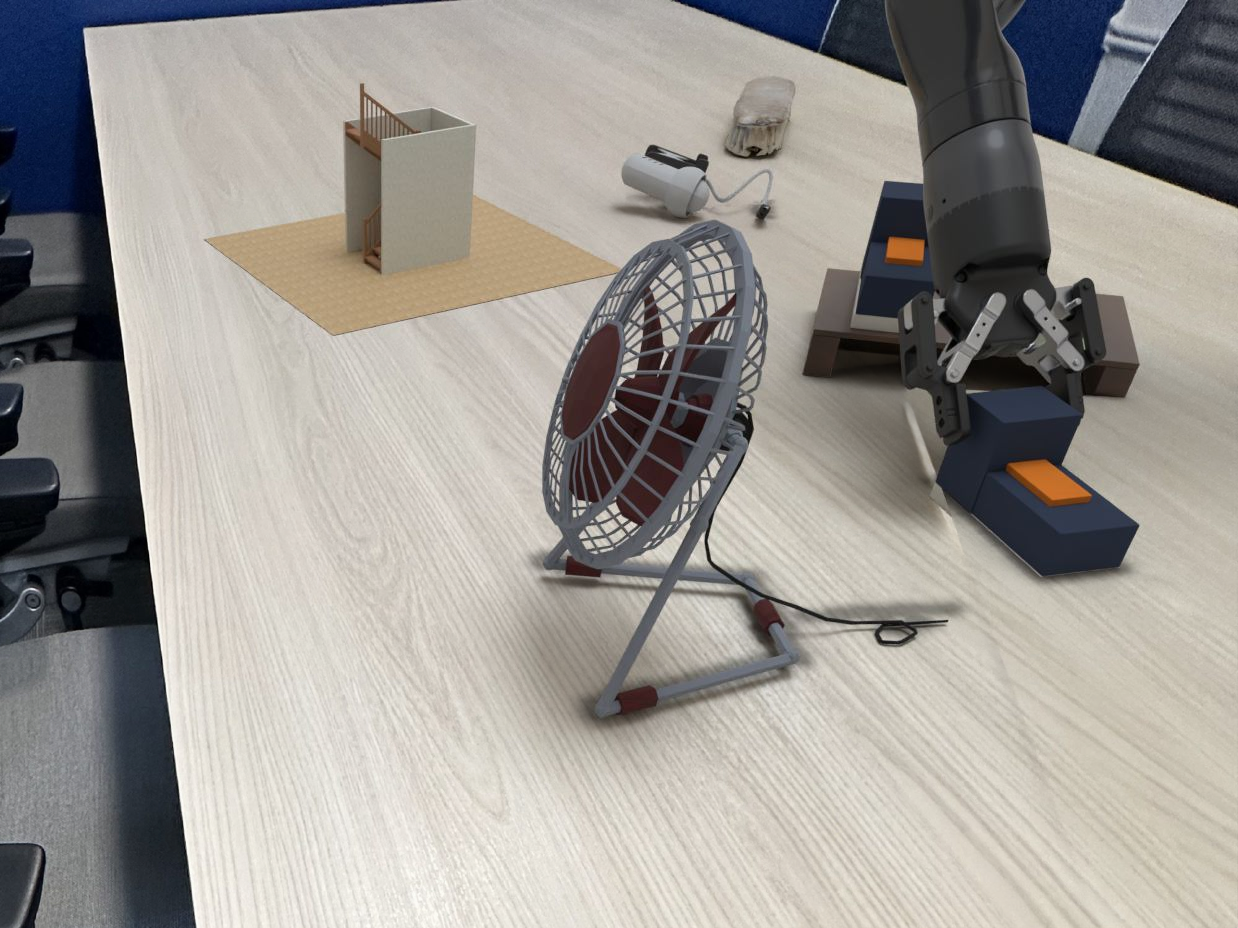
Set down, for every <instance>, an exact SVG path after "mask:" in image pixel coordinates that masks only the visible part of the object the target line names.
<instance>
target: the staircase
mask: <svg viewBox="0 0 1238 928" xmlns="http://www.w3.org/2000/svg"><path fill="white" fill-rule="evenodd" d="M369 102H370V116H369ZM374 106H375V115H374ZM365 108H366V109H365ZM378 108H379V114H378ZM365 110H366V113H365ZM383 112H384V113H383ZM342 126H343V127H342V128H343V129H342V131H343V133H342V135H343V136H342V137H343V138H342V139H343V180H344V181H343V182H344V183H343V185H344V186H343V187H344V189H343V190H344V191H343V192H344V212H343V213H344V248H345V251H346V252H347V253H348V252H353V251H358V250H362V262H363V263H364V264H367V263H369V264H371V265H372V266H374V267H376V268H377V269H379V273H380V274H382V275H388V274H393V273H398V272H403V271H406V270H412V269H417V268H422V267H427V266H432V265H437V264H442V263H446V262H450V261H455V260H460V259H465V258H470V257H471V243H472V223H473V203H474V195H475V194H474V184H475V183H474V182H475V181H474V178H475V159H476V142H477V141H476V139H477V124H475V123H473V122H471V121H468V120H466V119H464V118H462V117H459V116H458V115H457V116H456V115H455V114H452V113H450V112H448V111H445V110H443V109H440V108H438V107H436V106H427V107H422V108H421V107H420V108H414V109H409V110H402V111H395V112H392V111H391V110H389V109H388V108H387V107H386V106H384V105H382V104H381V103H380V102H378V101H377V99H375V98H373V97H372V96H371V95H369V94H368V93H367V92H366V91H365V83H364V82H361V83H359V117H358V118H352V119H346V120H343V121H342Z"/></svg>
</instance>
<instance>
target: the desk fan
mask: <svg viewBox="0 0 1238 928" xmlns="http://www.w3.org/2000/svg"><path fill="white" fill-rule="evenodd" d="M716 241H718V243H719V244H720V246H721V247H722V249H721V250H717V251H715V250H714V249H713V247H711V245H710V244H712V243H714V242H716ZM699 242H700V243H699ZM703 246H705V248H706V249H707V250H708V251H709V253H708V254H704V255H702V256H698V255H697V254H696V252H695V251H693V250H695V249H698V248H701V247H703ZM687 252H689V254H690V255H691V256H692V257H693V258H692V259H690V258H689V255H688V254H687ZM725 253H726V255H727V256H728V258H729V259H730V262H731V266H727V267H724V266H723V264H722V260H721V258H720V257H719V255H723V254H725ZM712 257H713V258H714V259H715V261H717V263H718V265H719V266H718V267H719V269H715V270H711V271H710V270H709V268H708V266H707V265H706V264H705V263H704V262H703V261H704V260H706V259H709V258H712ZM696 262H697V263H698V264H699V265H700V266H701V267H702V268H703V270H704V271H705V272H703V273H698V274H695V275H693V266H692V264H693V263H696ZM643 263H644V264H643ZM641 264H643V266H642V267H641V268H640V265H641ZM670 264H672V265H673V266H674V267H675V268H674V269H672V271H671V272H670V273H669V274H667V275H666V276H665V277H664V278H663V279H662V278H661V277H660V275H661V274H662V272H664V270H665V269H666V268H667V267H668V266H669V265H670ZM639 268H640V270H638V269H639ZM637 270H638V271H637ZM732 270H733V279H734V280H733V284H734V288H732V289H728V286H727V279H726V272H727V271H732ZM678 271H679V272H680V274H681V280H680V281H678V282H677V283H675V284H674V285H673V286H670V285H669V284H668V283H667V282H666V281H667V280H668V279H670V278H671V276H673V275H674V274H675V273H676V272H678ZM720 273H721V278H722V285H723V290H721V291H715V289H714V283H713V279H712V275H715V274H720ZM633 277H634V278H633ZM704 277H707V280H708V284H709V285H708V286H709V288H710V292H709V293H703V294H700V291H699V288H698V285H697V283H696V281H695V280H696V279H700V278H704ZM632 278H633V279H632ZM631 279H632V280H631ZM655 280H657V281H658V282H659V283H657V284H656V285H655V286H654V287H653V288H652V289H651V286H652V284H653V283H654V282H655ZM634 282H635V283H634ZM628 283H629V284H628ZM627 285H628V286H627ZM632 285H633V286H632ZM681 285H682V293H683V294H682V296H683V297H682V296H681V295H680V294H679V292H677V291H676V289H677V288H678V287H680V286H681ZM626 286H627V288H626V290H624V289H625V287H626ZM631 286H632V287H631ZM661 286H663V287H665V288H666V289H667V291H665V292H664V293H662V294H661V295H660V296H659V297H657V298H656V299H655V296H654V292H656V291H657V290H658V288H660V287H661ZM619 289H620V290H619ZM618 290H619V292H618ZM757 290H758V291H759V292H758V300H757ZM669 294H673V296H674V297H676V298H677V302H675V303H673V304H671V305H670V306H668V307H666V308H665V309H662V308H661V307H660V306H658V303H659V302H660V301H661V300H663V299H664V298H666V297H668V295H669ZM729 294H732V296H731V297H730V298H729ZM723 295H724V300H725V304H724V305H723V306H721V307H720V308H719V306H718V301H717V296H723ZM622 296H623V297H622ZM616 297H617V299H616ZM710 297H712V301H713V305H714V312H713V313H712V314H711V315H709V316H708V315H707V310H706V307H705V305H704V302H703V300H702V299H705V298H710ZM767 297H768V296H767V292H766V291H765V290H764V284H763V279H762V276H761V274H760V273H759V272H758V270H757V268H756V266H755V264H754V261H753V254H752V251H751V250H750V246H749V245H748V244H747V241H746V239H745V237H744V235H743V233H742V231H741V230H738V229H736V228H735V227H733V226H731V225H729V224H727V223H724V222H723V221H720V220H718V219H710V220H706V221H701V222H698V223H694V224H692V225H690V226H689V227H688V228H686V229H684V230H683V231H682V232H681V233H679V234H678V235H675V236H673V237H671V238H665V239H660V240H655V241H652V242H650V243H649V244H648V245H646V246H645V247H643V248H642V249H640V250H639V251H637V253H634V255H632V257H630V259H629V260H628V261H627V263H625V265H624V266H623V267H621V271H620V272H618V273H616V275H615V276H614V277H613V279H612V281H611V282H610V284H609V285H608V287H607V288H606V289H605V291H604V292H603V294H602V295H601V296H600V299H599V300H598V301H597V303H596V305H595V307H594V309H593V311H592V312H591V314H590V316H589V318H588V320H587V321H586V324H585V326H584V327H583V329H582V331H581V332H580V335H579V336H578V339H577V341H576V344H575V346H574V348H573V351H572V354H571V356H570V358H569V360H568V361H567V365H566V368H565V370H564V373H563V376H562V377H561V382H560V384H559V385H560V386H559V388H558V391H557V394H556V397H555V400H554V403H553V407H552V412H551V415H550V420H549V422H548V423H549V424H548V429H547V433H546V436H545V443H544V451H543V459H542V465H541V467H542V469H541V472H542V473H541V476H542V477H541V480H542V481H541V483H542V484H541V485H542V487H541V488H542V489H541V492H542V493H541V494H542V497H543V502H544V507H545V511H546V514H547V515H548V517H549V518H550V520H551V521H552V523H553V525H554V526H556V527H558V530H559V531H560V534H561V535H562V537H561V539H560V540H559V541H558V542H557V543H556V545H555V546H554V547H553V549H552V550H551V551H550V552H549V554H547V556H545V557H544V558H543V559H542V566H543V568H544V569H545V570H547V571H553V570H556V571H564V576H575V577H576V576H577V577H587V578H588V577H589V578H601V577H602V575H612V576H613V575H614V576H626V577H637V578H649V579H661V581H660V583H659V586H658V587H657V588H656V591H655V593H654V595H653V596H652V599H651V600H650V602H649V604H648V606H647V608H646V610H645V612H644V613H643V616H642V618H641V620H640V622H639V624H638V625H637V627H636V629H635V631H634V633H633V634H632V637H631V639H630V640H629V642H628V645H627V646H626V648H625V650H624V652H623V654H622V656H621V657H620V659H619V662H618V663H617V666H616V667H615V668H614V671H613V673H612V675H611V677H610V679H609V680H608V682H607V684H606V687H605V688H604V690H603V692H602V694H601V696H600V698H599V700H598V702H597V703H596V704H595V705H594V710H593V711H594V714H595V715H596V716H597V717H599V718H602V719H604V718H607V717H609V716H611V715H612V716H613V715H616V716H621V715H625V714H630V713H635V712H638V711H643V710H647V709H651V708H655V707H656V706H657V704H658V702H662V701H665V700H669V699H672V698H677V697H679V696H683V695H687V694H690V693H695V692H698V691H701V690H705V689H708V688H712V687H715V686H719V685H722V684H726V683H730V682H734V681H737V680H740V679H744V678H748V677H752V676H755V675H758V674H762V673H765V672H769V671H773V670H777V669H780V668H783V667H788V666H792V665H796V664H797V663H798V662H799V661H800V659H801V654H800V651H799V650H797V649H796V648H794V646H793V644H792V642H791V641H790V639H789V638H788V635H787V634H786V632H785V631H784V628H785V626H786V624H785V623H784V621H783V620H782V619H783V618H781V616H780V614H779V612H778V610H777V608H776V606H775V605H774V603H777V604H779V605H783V606H786V607H789V608H792V609H794V610H796V611H799V612H801V613H805V614H806V615H808V616H812V617H814V618H817V619H818V620H821V621H824V622H828V623H835V624H842V625H851V626H859V625H861V626H863V625H864V626H865V625H879V626H878V628H877V629H876V630H874V635H875V637H876V640H877V642H878V643H880V644H881V645H902V644H906V642H908V641H910V640H911V639H912V638H914V637H916V636H917V635H918V630H917V628H915V627H914V626H917V625H918V626H919V625H930V624H931V625H932V624H943V623H949V619H939V620H919V621H917V620H916V621H904V620H902V619H893V620H891V619H888V620H885V619H884V620H851V619H842V618H835V617H827V616H825V615H822V614H821V613H820V614H819V613H818V612H815V611H813V610H810V609H808V608H806V607H803V606H800V605H798V604H794V603H792V602H789V601H786V600H783V599H780V598H777V597H774V596H771V595H768V594H765V593H763V592H762V591H761V590H760V587H759V586H758V584H757V582H756V575H754V574H753V573H752V572H749V571H746V572H743V573H737V572H727V571H726V570H725V569H723V568H722V567H720V565H718V564H716V563H715V562H714V561H713V560H712V556H711V551H710V545H709V541H708V540H709V537H710V533H711V529H712V524H713V521H714V517H715V513H716V511H717V508H718V506H719V504H720V502H721V501H722V498H723V497H724V496H725V494H726V492H727V491H728V489H729V487H730V485H731V483H732V482H733V480H734V479H735V477H736V475H737V473H738V471H739V470H740V468H741V467H742V465H743V462H744V459H745V457H746V454H747V452H748V448H749V446H750V444H751V440H752V437H753V434H754V431H755V427H754V421H753V414H752V412H751V410H753V408H754V406H755V401H756V399H755V398H754V396H753V395H752V394H751V393H754V392H755V391H758V389H759V386H760V385H761V380H762V375H763V371H762V368H763V366H764V365H765V360H766V355H767V348H768V347H767V337H768V330H769V317H768V305H769V303H768V298H767ZM621 298H622V299H621ZM609 299H611V300H610V304H609V306H608V303H609ZM615 299H616V301H615ZM620 299H621V300H620ZM694 300H697V301H698V304H699V307H700V309H701V313H702V316H703V317H700V318H692V315H693V305H694ZM620 301H621V302H620ZM614 302H615V304H614ZM613 304H614V306H613ZM642 304H643V308H644V309H643V310H642V311H641V312H640V314H638V316H637V317H636V318H635V320H633V318H634V316H635V314H636V313H637V312H638V310H639V309H640V307H641V306H642ZM618 305H619V306H618ZM679 305H681V306H682V314H681V320H678V321H676V322H674V321H673V320H672V318H671V317H670V316H669V315H668V314H667V313H668V312H669V311H671V310H672V309H674V308H675V307H678V306H679ZM607 307H608V310H607ZM612 308H613V309H612ZM755 308H756V309H757V311H756V319H755V321H754V324H752V323H753V317H754V313H755ZM602 310H603V311H602ZM606 310H607V311H606ZM732 310H733V311H732ZM611 311H612V312H611ZM601 312H602V313H601ZM606 312H607V313H606ZM730 312H732V314H731V315H729V313H730ZM600 313H601V314H600ZM642 316H643V322H642V324H640V323H638V322H639V321H640V320H641V318H642ZM660 316H663V317H664V318H666V321H668V323H669V325H667V326H665V327H663V326H662V323H661V318H660ZM609 317H610V318H609ZM600 318H601V319H600ZM760 318H761V319H760ZM599 319H600V323H599ZM760 320H761V321H760ZM726 321H729V322H728V325H727V327H726V331H725V333H724V336H723V339H722V338H721V337H722V335H723V334H722V333H723V331H724V326H725V324H726ZM759 322H760V327H759V330H757V327H758V326H759ZM630 323H631V324H630ZM696 323H699V324H697V326H696ZM594 324H595V327H594V331H593V332H592V329H593V326H594ZM629 324H630V326H629ZM598 325H599V326H598ZM679 325H680V331H679V329H678V327H677V326H679ZM719 325H720V326H719ZM627 326H629V327H628V328H627ZM634 326H635V327H637V329H636V330H634V332H633V333H632V334H631V335H630V336H629V337H628V338H627V339H626V336H627V335H628V334H629V333H630V332H631V330H632V329H633V328H634ZM718 326H719V330H718V333H717V336H716V337H714V335H715V332H716V329H717V327H718ZM626 328H627V329H626ZM691 328H692V331H691ZM625 329H626V331H625ZM670 329H673V331H674V332H675V333H676V335H677V336H678V341H677V344H673V345H669V346H666V345H665V344H664V339H663V338H664V336H663V333H664V332H665V331H666V332H667V331H668V330H670ZM731 329H732V333H731V335H730V337H729V334H730V332H731ZM640 331H642V337H641V338H640V339H638V340H637V341H636V342H635V343H633V344H632V345H630V346H629V347H628V346H627V344H628V343H629V342H630V341H631V340H632V339H633V338H634V337H635V336H636V335H637V334H638V333H639V332H640ZM753 333H754V335H755V338H754V340H753V341H752V343H751V344H750V346H749V347H748V345H749V341H750V338H751V336H752V334H753ZM728 337H729V339H728ZM708 339H709V341H708V342H707V340H708ZM586 340H587V341H586ZM759 341H761V344H760V346H759V348H758V351H757V352H756V353H755V354H754V355H753V356H752V357H750V356H749V354H750V352H751V351H752V350H753V348H754V347H755V346H756V345H757V343H758V342H759ZM706 342H707V343H706ZM640 343H641V344H640ZM638 345H640V348H639V349H640V350H639V352H637V351H635V350H633V349H634V348H635V347H637V346H638ZM628 353H630V354H632V355H633V356H631V357H630V358H628V359H626V360H624V358H625V355H627V354H628ZM665 353H667V357H666V358H665V360H664V362H663V359H664V355H665ZM760 355H761V357H760V362H759V364H758V363H757V362H756V361H755V360H756V359H757V358H759V356H760ZM636 359H638V360H637V367H636V370H632V371H627V372H622V369H623V367H624V366H625V365H627V364H628V363H631V362H633V361H634V360H636ZM745 360H746V361H747V362H746V363H745V365H744V361H745ZM662 362H663V365H662ZM661 366H662V367H661ZM750 366H752V367H754V368H755V369H754V370H753V371H752V372H750V373H749V374H748V375H747V376H745V377H744V378H743V373H744V372H745V371H746V370H747V368H749V367H750ZM756 374H757V379H756V384H755V385H754V386H753V387H752V388H750V389H748V390H745V389H743V388H741V387H742V386H743V385H744V384H745V383H746V382H748V381H749V380H751V378H752V377H754V376H755V375H756ZM631 376H634V377H631ZM620 378H622V379H624V380H623V381H622V383H620V385H618V383H619V380H620ZM613 396H614V397H613ZM745 396H746V397H748V398H749V400H750V404H749V406H747V405H745V404H743V403H741V402H739V400H740V399H742V398H743V397H745ZM610 403H612V404H613V405H614V408H615V409H616V410H613V411H612V412H610V411H609V409H608V408H609V405H610ZM560 408H561V410H560ZM605 414H606V415H605ZM745 414H746V415H745ZM604 415H605V416H604ZM558 419H559V421H557V420H558ZM555 432H557V433H556V434H555ZM554 434H555V436H554ZM558 437H559V438H558ZM557 439H558V440H557ZM556 441H557V442H556ZM560 442H561V443H560ZM555 443H556V445H555ZM554 445H555V447H554V448H553V446H554ZM559 445H560V446H559ZM558 447H559V448H558ZM560 454H561V455H560ZM718 454H720V455H724V456H725V458H724V459H723V461H722V460H721V459H720V457H719V455H718ZM554 457H555V459H554ZM553 459H554V461H553V463H552V460H553ZM714 459H715V460H716V461H717V464H718V465H719V469H718V471H717V473H716V474H715V476H714V477H712V473H711V471H710V468H709V465H710V464H711V463H712V461H713V460H714ZM557 462H558V465H557V467H556V471H555V472H554V470H555V466H556V463H557ZM561 465H562V466H561ZM560 468H561V470H560ZM705 470H706V474H707V476H702V474H703V473H704V471H705ZM559 471H561V472H560V474H559V479H558V473H559ZM553 479H554V488H553ZM702 481H708V482H709V487H708V489H707V491H706V492H705V493H704V495H703V488H702ZM696 482H697V488H698V490H697V491H698V500H693V486H694V485H695V483H696ZM557 487H558V498H557ZM553 489H554V490H553ZM687 493H688V500H685V497H686V495H687ZM573 498H574V499H573ZM573 501H574V502H575V506H574V502H573ZM578 501H582V502H585V505H586V506H579V502H578ZM613 504H615V506H616V507H617V509H618V511H619V512H617V513H616V514H614V513H613V512H612V511H611V509H609V506H611V505H613ZM556 505H557V506H558V508H557V507H556ZM683 505H687V511H686V512H685V515H684V517H683V518H682V512H683V507H684V506H683ZM692 505H695V506H694V507H693V509H692ZM677 508H678V510H677ZM582 510H584V511H583V512H582V513H581V515H580V511H582ZM676 510H677V516H676V519H675V520H674V521H672V517H673V514H674V513H675V512H676ZM574 511H575V512H576V513H575V514H576V516H574ZM604 511H606V512H607V514H608V515H609V517H608V518H606V519H604V520H601V521H598V520H597V517H598V516H599V515H601V514H602V513H603V512H604ZM693 515H694V516H693ZM619 516H621V517H622V518H624V519H626V521H625V522H623V523H622V522H621V521H620V520H619V519H618V517H619ZM692 517H693V518H692ZM681 518H682V519H681ZM690 519H691V520H690ZM688 520H690V522H689V528H688V530H687V532H686V534H685V535H684V537H683V539H682V541H681V544H680V545H679V547H678V549H677V551H676V552H675V555H674V557H673V559H672V561H671V562H670V564H669V566H668V567H664V566H651V565H640V564H628V563H624V562H625V561H626V560H628V559H632V558H636V557H640V556H642V555H644V554H645V553H647V552H648V551H651V550H652V551H653V550H655V549H657V548H658V547H660V546H661V545H662V544H663V543H664V542H665V541H666V539H670V538H671V537H673V536H675V534H676V533H677V532H678V531H679V530H680V528H681V527H682V526H683V525H684V524H685V523H686V522H687V521H688ZM592 521H593V522H592ZM610 521H614V522H615V523H616V524H617V526H618V527H616V528H615V529H613V530H612V531H610V532H608V533H607V532H606V531H605V529H604V528H603V527H602V526H601V525H604V524H607V523H608V522H610ZM631 522H632V523H634V524H635V525H636V526H635V527H633V528H632V529H630V531H629V530H627V528H626V526H628V525H629V524H630V523H631ZM593 526H594V527H595V526H596V527H597V528H598V529H599V531H600V532H601V534H602V535H601V534H600V535H596V536H591V534H590V533H589V532H588V530H587V527H593ZM669 526H671V527H670V528H669ZM661 529H662V530H661ZM667 529H668V530H667ZM620 530H622V531H623V532H624V534H625V535H624V536H622V537H621V538H620V539H619V540H617V541H615V542H613V540H612V539H611V538H610V536H612V535H615V534H616V533H617V532H619V531H620ZM660 530H661V531H660ZM583 532H584V533H585V535H586V536H587V537H583V538H580V535H581V534H582V533H583ZM633 533H634V534H633ZM632 534H633V535H632ZM703 534H704V539H703V540H704V541H703V543H704V549H705V555H706V561H707V562H708V564H709V565H710V566H711V568H712V569H714V570H715V571H711V570H697V569H688V568H686V565H687V563H688V562H689V559H690V558H691V556H692V554H693V552H694V550H695V548H696V546H697V545H698V543H699V541H700V539H701V537H702V535H703ZM656 535H657V536H656ZM601 539H606V540H607V542H608V543H609V545H604V546H598V545H597V544H596V542H595V540H601ZM588 541H589V542H591V544H592V546H593V548H586V546H585V544H584V543H583V542H588ZM648 543H649V544H648ZM647 544H648V545H647ZM646 546H647V547H646ZM606 549H610V550H606ZM567 550H568V553H569V554H570V555H566V558H562V557H563V555H564V554H565V553H566V552H567ZM601 550H602V551H601ZM603 550H605V551H603ZM594 552H597V553H594ZM678 581H686V582H695V583H696V582H698V583H709V584H718V585H719V584H721V585H722V584H723V585H732V586H733V585H734V586H735V585H736V586H740V587H741V588H743V589H744V590H745V592H746V593H747V595H748V597H749V598H750V600H751V602H752V604H753V606H752V613H753V615H754V616H755V618H756V619H757V621H758V623H759V624H760V627H761V628H762V631H764V632H765V634H766V636H769V637H772V639H773V641H774V642H775V644H776V646H777V648H778V649H779V651H780V653H781V654H779V655H777V656H776V655H775V656H772V657H770V658H769V657H768V658H765V659H762V660H758V661H755V662H751V663H747V664H743V665H740V666H737V667H733V668H730V669H726V670H722V671H719V672H715V673H712V674H711V673H710V674H707V675H704V676H700V677H696V678H693V679H689V680H686V681H681V682H679V683H675V684H672V685H668V686H664V687H660V688H656V687H654V686H653V685H650V684H648V685H645V686H640V687H636V688H632V689H629V690H628V689H627V690H625V691H622V692H620V690H621V688H622V687H623V685H624V683H625V681H626V679H627V677H628V675H629V673H630V671H631V670H632V667H633V665H634V664H635V662H636V660H637V658H638V656H639V654H640V652H641V650H642V648H643V647H644V645H645V643H646V641H647V639H648V637H649V635H650V634H651V632H652V630H653V628H654V626H655V624H656V622H657V620H658V618H659V617H660V615H661V613H662V610H663V609H664V607H665V605H666V603H667V602H668V599H669V598H670V595H671V594H672V592H673V590H674V588H675V586H676V584H677V582H678ZM772 602H773V603H772ZM902 626H903V627H905V628H906V629H908V630H910V631H911V632H912V633H910V634H909V635H907V636H905V637H904V638H901V639H899V640H887V639H883V638H882V636H881V635H880V633H881V632H882V630H883V629H884V628H891V627H902Z"/></svg>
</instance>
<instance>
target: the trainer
mask: <svg viewBox="0 0 1238 928" xmlns="http://www.w3.org/2000/svg"><path fill="white" fill-rule="evenodd" d="M966 395H967V402H968V410H969V418H970V426H971V433H970V436H969V437H968V438H967V439H965V440H963V441H962V442H960V443H958V444H957V445H948V446H946V450H945V453H944V455H943V458H942V461H941V465H940V467H939V470H938V473H937V476H936V478H935V483H934V484H933V487H932V490H931V493H930V497H929V498H931V499H932V500H933V501H934V502H935V503H936V504H937V505H939V506H940V508H942V509H943V510H944V511H945V512H946V513H947V514H948V515H949V516H952V513H951V511H950V508H949V505H948V503H947V499H946V497H945V494H944V491H945V493H947V494H948V495H949V496H950V497H951V498H952V499H953V500H954V501H956V502H957V503H958V504H959V505H960V506H961V507H962V508H964V509H965V510H966V511H967V512H968V513H969V514H970V515H971V516H973V517H974V518H975V519H976V520H977V521H978V522H979V523H980V524H981V525H982V526H984V527H985V528H986V529H987V531H989V532H990V533H991V534H992V535H994V536H995V537H996V539H998V540H999V541H1000V542H1001V543H1002V544H1004V545H1005V547H1007V548H1008V550H1010V551H1011V552H1012V553H1014V555H1016V556H1017V558H1019V559H1020V560H1021V561H1022V562H1024V563H1025V564H1026V565H1027V566H1028V567H1029V568H1030V569H1031V570H1032V571H1034V572H1035V574H1037V575H1038V576H1039V577H1040V578H1045V577H1055V576H1061V575H1062V576H1063V575H1068V574H1069V575H1070V574H1078V573H1086V572H1094V571H1103V570H1110V569H1111V570H1112V569H1118V568H1121V565H1122V562H1123V560H1124V559H1125V556H1126V554H1127V552H1128V550H1129V549H1130V546H1131V544H1132V542H1133V540H1134V539H1135V536H1136V534H1137V532H1138V530H1139V528H1140V523H1138V522H1137V521H1136V520H1135V519H1133V518H1132V517H1131V516H1129V515H1128V514H1126V513H1125V512H1124V511H1122V510H1121V509H1120V508H1119V507H1117V506H1116V505H1115V504H1114V503H1112V502H1111V501H1109V500H1108V499H1107V498H1106V497H1104V495H1101V493H1099V492H1098V491H1096V489H1094V488H1092V486H1090V485H1089V484H1087V483H1086V482H1085V481H1084V480H1082V479H1081V478H1079V477H1078V476H1077V475H1076V474H1075V473H1073V472H1072V471H1071V470H1069V469H1068V468H1067V467H1066V466H1064V465H1063V463H1064V460H1065V459H1066V456H1067V453H1068V451H1069V449H1070V446H1071V444H1072V443H1073V442H1072V441H1073V439H1074V437H1075V435H1076V432H1077V429H1078V428H1079V426H1080V425H1079V423H1080V424H1081V422H1080V420H1081V421H1082V419H1083V418H1082V416H1083V415H1082V414H1081V413H1080V412H1078V411H1077V410H1075V409H1074V408H1072V407H1071V406H1070V405H1068V404H1067V403H1065V402H1064V401H1063V400H1061V399H1060V398H1058V397H1057V396H1055V395H1054V394H1053V393H1051V392H1050V391H1048V390H1047V389H1046V388H1045V387H1044V386H1043V385H1037V386H1028V387H1017V388H1007V389H999V390H997V389H996V390H989V391H979V392H970V393H968V392H967V393H966ZM1083 417H1084V416H1083ZM1081 418H1082V419H1081ZM1078 425H1079V426H1078ZM943 490H944V491H943Z"/></svg>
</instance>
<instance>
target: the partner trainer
mask: <svg viewBox="0 0 1238 928" xmlns="http://www.w3.org/2000/svg"><path fill="white" fill-rule="evenodd" d="M859 271H860V274H859V280H858V286H857V292H856V298H855V304H854V309H853V315H852V321H851V328H855V329H864V330H874V331H883V332H892V333H899V327H898V312H899V310H900V309H901V308H903V307H904V306H905V305H906V304H907V303H909V302H910V301H911V300H912V299H913V298H915V297H916V296H917V295H918V294H919V293H921V292H923V291H926V292H929V293H930V294H931V295H932V298H933V296H934V293H935V290H934V283H933V276H932V268H931V260H930V252H929V245H928V237H927V228H926V221H925V213H924V204H923V183H921V182H920V183H919V182H906V181H895V180H894V181H893V180H884V181H883V184H882V188H881V191H880V195H879V200H878V203H877V207H876V211H875V214H874V218H873V222H872V226H871V229H870V233H869V237H868V240H867V245H866V248H865V252H864V256H863V260H862V263H861V267H860V270H859Z"/></svg>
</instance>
